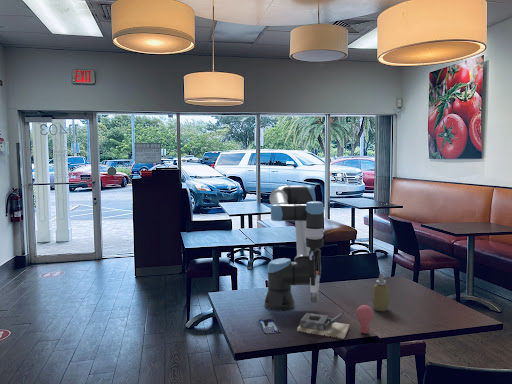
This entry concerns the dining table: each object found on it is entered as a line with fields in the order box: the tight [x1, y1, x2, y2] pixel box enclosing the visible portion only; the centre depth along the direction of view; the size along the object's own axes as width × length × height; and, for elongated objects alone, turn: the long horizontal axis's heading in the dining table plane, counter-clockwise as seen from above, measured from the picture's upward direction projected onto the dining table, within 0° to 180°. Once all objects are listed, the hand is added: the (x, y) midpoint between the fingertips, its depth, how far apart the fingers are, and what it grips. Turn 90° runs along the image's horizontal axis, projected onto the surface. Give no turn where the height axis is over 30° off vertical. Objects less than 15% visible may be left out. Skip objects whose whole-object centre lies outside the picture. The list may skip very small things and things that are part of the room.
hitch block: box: [296, 312, 350, 340], centre depth 178 cm, size 20×12×4 cm, turn 67°
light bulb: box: [355, 304, 375, 334], centre depth 174 cm, size 7×7×12 cm
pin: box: [310, 270, 319, 304], centre depth 179 cm, size 3×3×14 cm
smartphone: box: [257, 317, 279, 334], centre depth 182 cm, size 7×1×15 cm
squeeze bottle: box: [371, 272, 390, 312], centre depth 201 cm, size 8×8×18 cm
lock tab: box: [327, 311, 345, 327], centre depth 176 cm, size 9×5×1 cm
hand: (314, 290), depth 179 cm, fingers closed on pin, 3 cm apart
